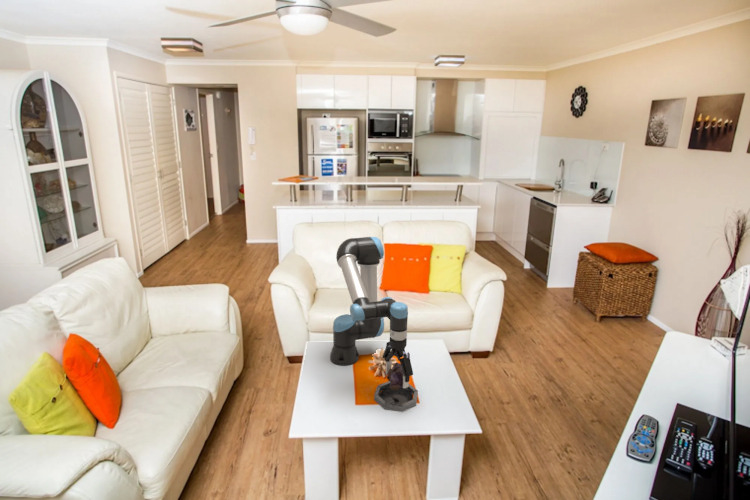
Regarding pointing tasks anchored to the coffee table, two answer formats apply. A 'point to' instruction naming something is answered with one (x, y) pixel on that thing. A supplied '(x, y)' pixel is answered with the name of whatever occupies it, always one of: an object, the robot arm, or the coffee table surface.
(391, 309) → the robot arm
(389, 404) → the collar
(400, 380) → the rock
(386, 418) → the coffee table surface
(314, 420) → the coffee table surface
